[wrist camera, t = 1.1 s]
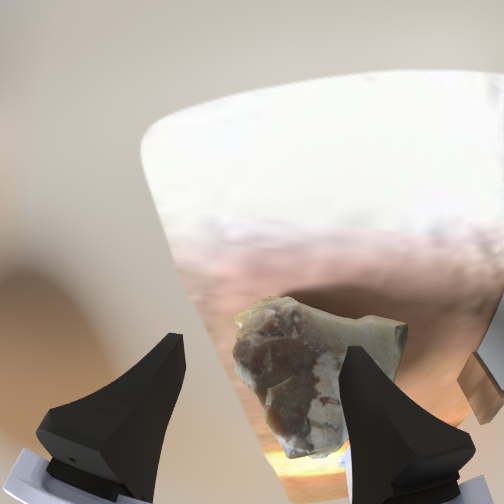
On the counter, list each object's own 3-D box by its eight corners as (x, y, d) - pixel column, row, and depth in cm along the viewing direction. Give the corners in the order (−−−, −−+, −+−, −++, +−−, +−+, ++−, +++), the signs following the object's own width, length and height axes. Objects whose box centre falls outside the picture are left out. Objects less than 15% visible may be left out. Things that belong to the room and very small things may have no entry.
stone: (324, 524, 9) (169, 442, 15) (377, 447, 20) (280, 416, 26) (403, 301, 11) (217, 269, 17) (413, 330, 22) (310, 310, 28)
